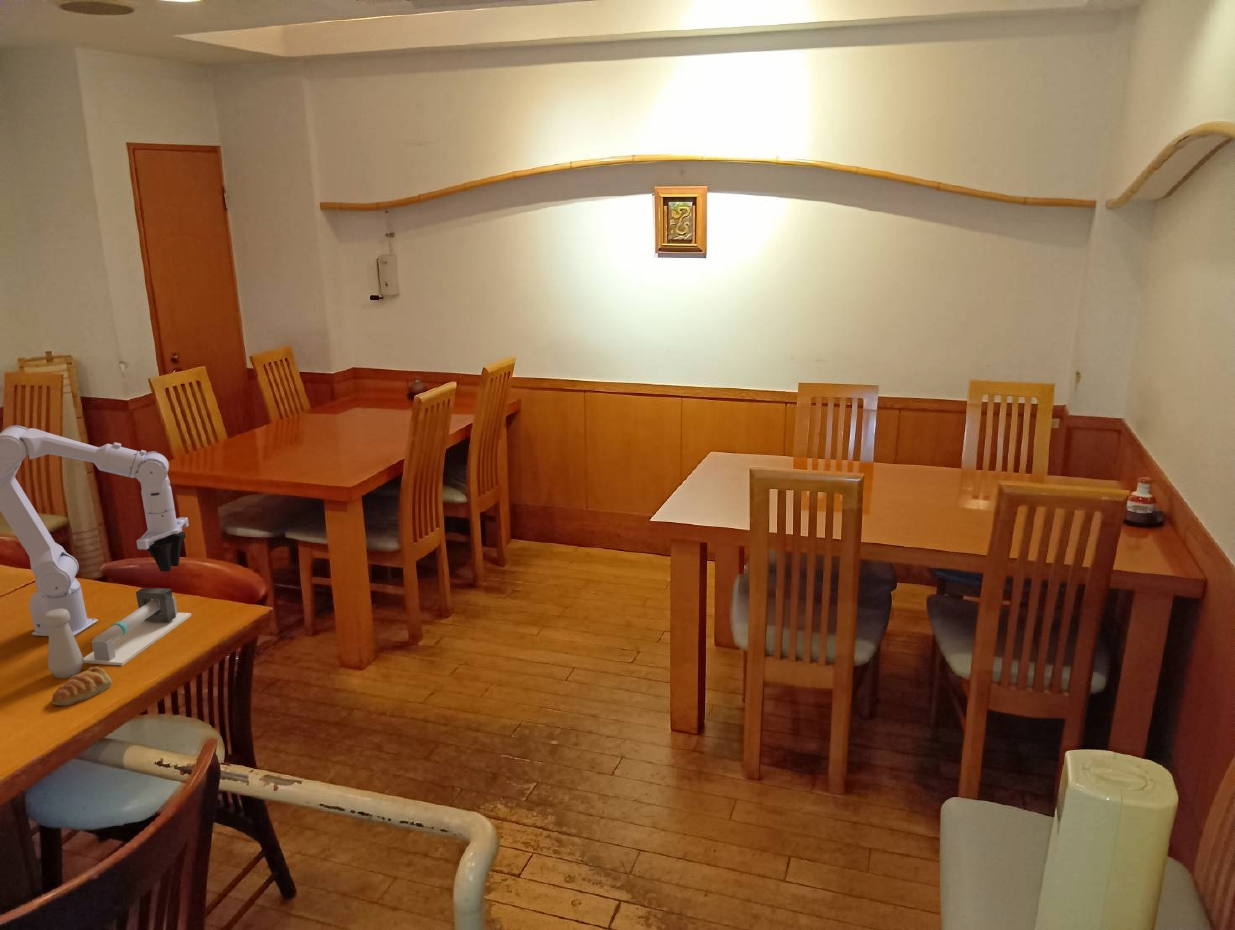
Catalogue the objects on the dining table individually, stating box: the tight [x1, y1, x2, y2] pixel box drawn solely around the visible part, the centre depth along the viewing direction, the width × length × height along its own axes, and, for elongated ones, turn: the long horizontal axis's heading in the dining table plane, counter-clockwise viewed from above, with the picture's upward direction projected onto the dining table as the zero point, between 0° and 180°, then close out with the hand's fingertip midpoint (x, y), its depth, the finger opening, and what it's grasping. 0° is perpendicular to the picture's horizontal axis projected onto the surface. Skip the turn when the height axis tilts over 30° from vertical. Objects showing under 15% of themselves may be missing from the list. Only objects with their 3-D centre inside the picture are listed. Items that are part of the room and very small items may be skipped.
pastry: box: [51, 666, 113, 706], centre depth 159 cm, size 9×7×4 cm
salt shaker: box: [43, 609, 84, 680], centre depth 165 cm, size 6×6×13 cm
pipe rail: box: [83, 594, 192, 666], centre depth 180 cm, size 22×9×6 cm, turn 172°
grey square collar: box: [135, 587, 176, 622], centre depth 186 cm, size 2×7×7 cm, turn 82°
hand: (169, 568), depth 190 cm, fingers open, 2 cm apart
